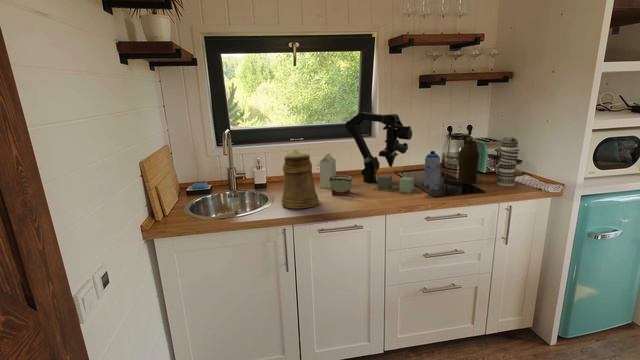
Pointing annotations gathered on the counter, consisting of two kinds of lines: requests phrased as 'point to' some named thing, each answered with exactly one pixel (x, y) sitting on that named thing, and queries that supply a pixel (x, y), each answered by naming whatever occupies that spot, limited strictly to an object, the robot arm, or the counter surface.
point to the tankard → (298, 182)
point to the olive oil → (468, 163)
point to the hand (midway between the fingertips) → (390, 166)
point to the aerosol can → (432, 171)
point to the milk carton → (327, 170)
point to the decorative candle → (507, 161)
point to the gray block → (385, 182)
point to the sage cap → (406, 184)
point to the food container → (340, 185)
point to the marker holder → (396, 190)
